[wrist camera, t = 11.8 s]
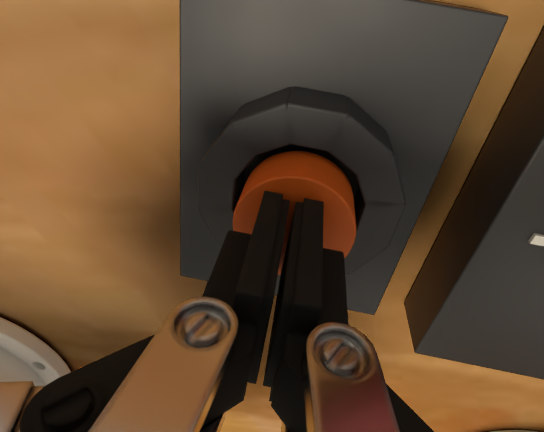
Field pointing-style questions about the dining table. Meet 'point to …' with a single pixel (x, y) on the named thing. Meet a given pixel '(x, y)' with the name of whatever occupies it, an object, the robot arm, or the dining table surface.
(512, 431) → the reusable coffee cup
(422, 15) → the housing
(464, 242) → the timer panel
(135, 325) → the dining table surface
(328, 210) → the button
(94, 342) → the dining table surface
